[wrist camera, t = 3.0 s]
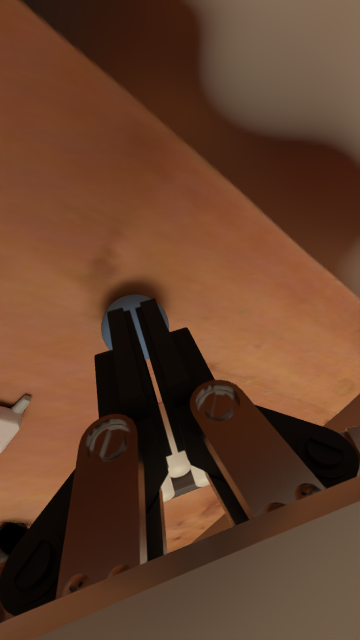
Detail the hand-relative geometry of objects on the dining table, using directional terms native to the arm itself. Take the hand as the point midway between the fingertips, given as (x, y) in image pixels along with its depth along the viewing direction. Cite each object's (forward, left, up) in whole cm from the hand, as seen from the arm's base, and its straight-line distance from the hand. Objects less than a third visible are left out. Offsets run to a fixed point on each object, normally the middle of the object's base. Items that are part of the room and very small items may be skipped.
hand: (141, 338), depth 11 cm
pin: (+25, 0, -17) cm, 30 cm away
